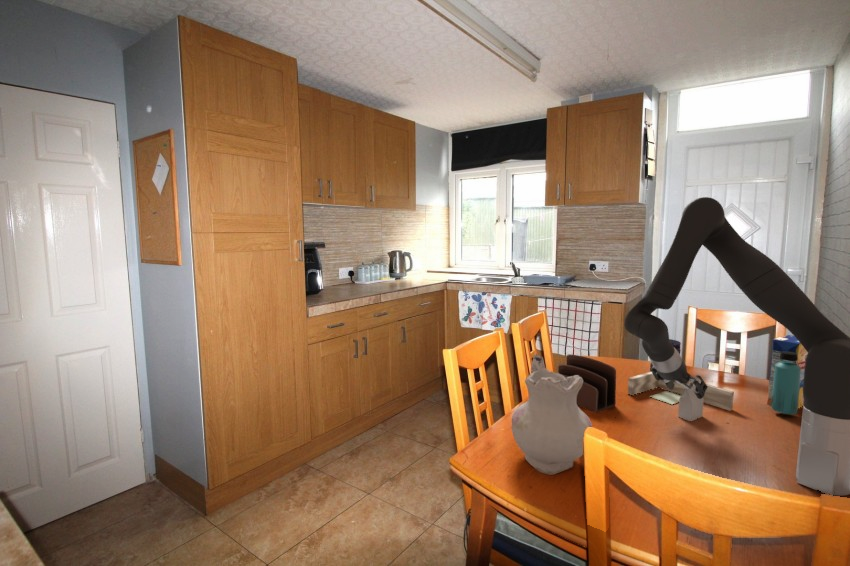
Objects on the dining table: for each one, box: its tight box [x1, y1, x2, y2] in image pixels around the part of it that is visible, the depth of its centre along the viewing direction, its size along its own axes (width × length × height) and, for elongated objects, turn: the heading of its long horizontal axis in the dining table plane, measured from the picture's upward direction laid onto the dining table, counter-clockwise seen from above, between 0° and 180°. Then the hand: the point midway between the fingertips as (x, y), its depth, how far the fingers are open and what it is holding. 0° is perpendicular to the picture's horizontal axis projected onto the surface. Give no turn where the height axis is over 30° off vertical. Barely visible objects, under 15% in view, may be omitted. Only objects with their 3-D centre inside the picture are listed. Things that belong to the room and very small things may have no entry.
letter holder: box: [557, 354, 617, 414], centre depth 146 cm, size 10×20×14 cm, turn 32°
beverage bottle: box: [770, 351, 801, 415], centre depth 133 cm, size 6×7×20 cm
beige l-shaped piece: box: [627, 371, 735, 412], centre depth 145 cm, size 17×25×6 cm, turn 30°
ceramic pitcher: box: [511, 353, 593, 476], centre depth 108 cm, size 22×20×25 cm
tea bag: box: [677, 385, 704, 422], centre depth 133 cm, size 4×7×10 cm, turn 122°
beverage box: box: [766, 334, 808, 409], centre depth 141 cm, size 7×11×22 cm, turn 120°
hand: (686, 391), depth 131 cm, fingers open, 8 cm apart
